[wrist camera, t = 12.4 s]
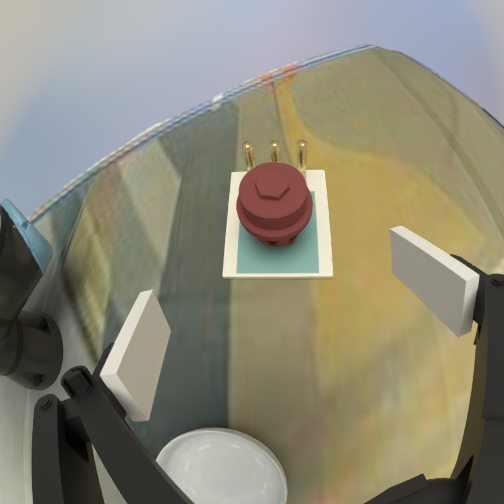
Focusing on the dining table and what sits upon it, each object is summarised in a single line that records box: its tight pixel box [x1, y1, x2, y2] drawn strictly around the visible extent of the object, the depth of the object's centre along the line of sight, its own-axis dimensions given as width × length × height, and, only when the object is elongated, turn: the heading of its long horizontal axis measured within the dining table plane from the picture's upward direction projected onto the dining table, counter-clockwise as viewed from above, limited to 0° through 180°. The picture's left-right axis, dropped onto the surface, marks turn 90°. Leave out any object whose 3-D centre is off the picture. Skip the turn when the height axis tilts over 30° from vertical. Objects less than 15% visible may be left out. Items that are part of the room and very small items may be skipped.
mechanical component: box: [236, 162, 313, 247], centre depth 41 cm, size 12×10×10 cm
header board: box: [223, 170, 333, 279], centre depth 48 cm, size 16×19×1 cm
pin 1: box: [242, 141, 256, 171], centre depth 47 cm, size 1×1×9 cm
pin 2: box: [270, 140, 281, 163], centre depth 46 cm, size 1×1×9 cm
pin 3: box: [298, 140, 307, 181], centre depth 46 cm, size 1×1×9 cm
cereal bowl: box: [156, 427, 288, 504], centre depth 31 cm, size 17×17×7 cm
